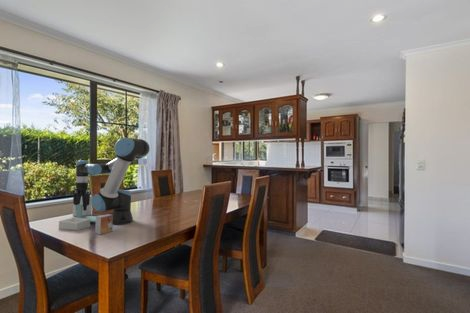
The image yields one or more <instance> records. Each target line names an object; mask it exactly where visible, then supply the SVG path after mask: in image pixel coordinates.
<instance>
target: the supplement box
mask: <svg viewBox="0 0 470 313" xmlns="http://www.w3.org/2000/svg"><path fill="white" fill-rule="evenodd" d="M92 197H93V196H92V195H90V202H89V205H87V210H86V217H87V216H92ZM80 204H83V201H82V197H81V200H80ZM72 216H73V217H76V205H75V204H73V203H72Z"/></svg>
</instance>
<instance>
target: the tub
mask: <svg viewBox="0 0 470 313" xmlns="http://www.w3.org/2000/svg"><path fill="white" fill-rule="evenodd" d="M90 227H91V225H90V219H84V218H76V217H75V216H73V217H70V218H69V217H68V218H65V219H61V220H59V221H58V230H63V231H64V230H66V231H75V232H78V231H82V230H84V229H87V228H90Z"/></svg>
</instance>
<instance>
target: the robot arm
mask: <svg viewBox="0 0 470 313" xmlns="http://www.w3.org/2000/svg"><path fill="white" fill-rule="evenodd" d="M150 148H151V147H150V145H149V143H148V141H146V140H145V139H142V138H141V139H140V138H132V137H122V138H119V139H118V140H117V141H116V142H115V144H114V153H115V156H116V158H114V159H113V160H111V161H109V162H107V163H90V162H89V160H77V161H76V165H75V170H76V171H75V188H76V189H75V190H72V196H73V198H72V205H73V204H75V205H76V208H77V205H78V204H80V200H81V197H82V201H83V206H82V215H86V210H87V205H89V202H90V196H91V193H92V191H91V190H90V191H89V190H88V187H89V175H92V176H97V175H108V178H107V180H106V182H105V184H104V187H102V188H100V190H99V192H98V193H96V194H94V195H93V196H92V202H91V207H93V210H95V211H96V212H98V213H100V212H107V211H111V210H112V213H111V215H113V225H125V224H129V223H132V222H133V221H134V217H133V215H132V214H133V213H132V210H131V208H132V206H131V204H132V192H131V191H130V190H129V189H120V187H121V185H122V182H123V180H124V178H125V175H126V173H127V172H128V169H129V167H130V165H131V163H134V162H135V161H136V160H141V159H142V158H144V157H146V156H147V155H148V154H149V153H150V150H151V149H150Z"/></svg>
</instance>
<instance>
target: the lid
mask: <svg viewBox="0 0 470 313" xmlns="http://www.w3.org/2000/svg"><path fill="white" fill-rule="evenodd" d="M82 206H83V204H78V205H77V208H76V216H75V218H84V219H90V222H96V216H97V215H96V216H95V215H87V216H86V215H82Z"/></svg>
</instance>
